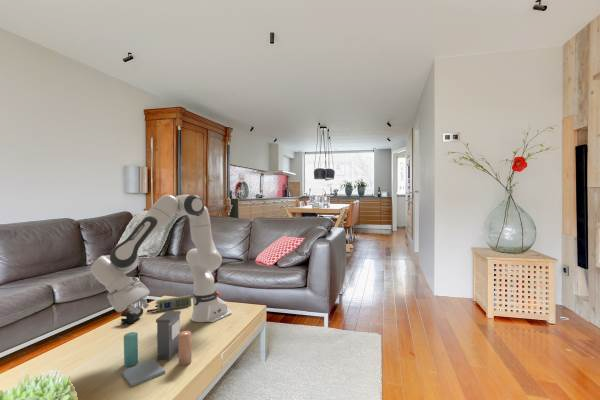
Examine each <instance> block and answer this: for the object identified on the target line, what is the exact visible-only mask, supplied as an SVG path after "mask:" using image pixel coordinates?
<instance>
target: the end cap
mask: <svg viewBox="0 0 600 400" xmlns="http://www.w3.org/2000/svg"><path fill="white" fill-rule="evenodd" d="M135 307H136V308H139V309H140V310H141V311H140V312H139V313H138V314H136V313H135V312H133V311H130V310H129V309H128V308H127V310H123V311H122V312H120V313H121V314H120V316H121V318H120V320H121V321H120V322H121V325H130V324H132V323H133V322H135V321H136V320H138V319H139V318H141V317H142V316H143V314H144V309H143V306H142V307H141V306H140V305H137V306H135ZM123 317H125V318H123Z"/></svg>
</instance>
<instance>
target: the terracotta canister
mask: <svg viewBox="0 0 600 400" xmlns="http://www.w3.org/2000/svg"><path fill="white" fill-rule="evenodd" d="M177 353H178V365H179V366H189V364H191V363H192V331H191V330H183V331H180V333H179V334H178V352H177Z"/></svg>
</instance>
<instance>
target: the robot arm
mask: <svg viewBox="0 0 600 400" xmlns="http://www.w3.org/2000/svg"><path fill="white" fill-rule="evenodd" d="M175 215H177V216H187V217H188V219H189V230H190V239H191V241H192V243H193V244H194V245H195V246H194V247H195V248H191V249H190V250H188V251H187V253H186V255H185V260H186V262H187V263H188V265H189V268H190V272H191V275H192V279H193V294H192V303H193V304H192V305H193V309H192V314H191V318H190V320H191V321H192V322H196V323H214V322H216V321H218V320H221V319H223V318H225V317H228V316H230V315H232V310H231V309H229V308H228V304H227V302H226V301H224V300H223V299H221V298H219V297H220V296H221V295H222V294H221V292H220V291H215V278H214V276H213V274H212V273H211V271H213V270H217V269H219V268H220V267H221V266H222V262H223V257H222V255H221V253H220V252H219V251H218V249H217V247H216V245H215V242H214V238H213V234H212V227H211V226H212V225H211V224H212V223H211V218H210V213H209V209H208V208H207V206H205V204H204V201H203V198H202V197H200V196H199V195H197V194H182V195H181V194H179V195H171V194H163V195H162V196H161V197H160V198H158V199H157V200H156V201H155V202H154V204H152V205H151V207H149V210H148V211H147V212H146V214H145V215H144V217H143V218H142V220H141V222H139V224H138V225H137V226H136V228H134V229H133V231H132V232H131V233H130V234H129V235H128V237H127V238H126V239H125V240H123V241H122V242H120V243H119V244H117V245H116V246H114V247H113V248H112V250H111V251H110V253H109V255H100V256H99V257H98V258H96V259H95V260H94V261H93V263H92V264H91V265H90V272H91V274H92V275H93V276H94V278H95V279H96V280H97V281H98V282H99V284H102V285H103V286H104V287H105V289H106V290H107V292H108V293H107V296H106V297H107V300H108V302H109V303H110V305H111V306H112V308H113V309H114V310H115V311H116V312H117V313H122V312H124V311H126V310H128V309H129V310H128V311H133V312H135V313H136V314H138V313H139V312H140V311H141V310H140V309H139V308H136V307H137V306H135V305H136V304H137V303H141V304H142V308H144V309H147V308H148V307H150V304H149V303H148V301H147V298H146V297H148V296H149V295H150V293H151V292H150V289H149V288H148V287H147V286H146V285H145V284H144V283H143V282H142V281H140V278H139V277H136V276H128V275H127V274H128V273H130V272H132V271H133V270H136V268H137V267H138V265H140V264H139V263H140V258H139V255H138V253H139V249H140V247H141V246H142V245H143V243H144V242H145V241H146V240H147V239H148V237H149V236H150V235H151V234H152V233H154V232H160V231H163V230H164V229H165V228H166V227H167V226H168V225H169V223H170V222H171V220H172V219H173V218H174V216H175Z"/></svg>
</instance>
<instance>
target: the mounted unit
mask: <svg viewBox="0 0 600 400" xmlns="http://www.w3.org/2000/svg"><path fill="white" fill-rule="evenodd" d="M181 314H182V313H181V310H166V311H165V312H164V313H163V314H162V315H160V316H159V317H158V318H156V320H155V323H156V327H157V329H156V330H157V331H156V333H157V335H156V336H157V337H156V339H157V341H156V342H157V343H156V344H157V361H158V362H160V361H161V362H164V361H165V362H170V361H171V360H172V358H174V357H175V355H176V354H177V353H178V334H179V333H180V332H181V329H180V327H181V323H180V322H181V321H180V318H181V317H180V316H181Z"/></svg>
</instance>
